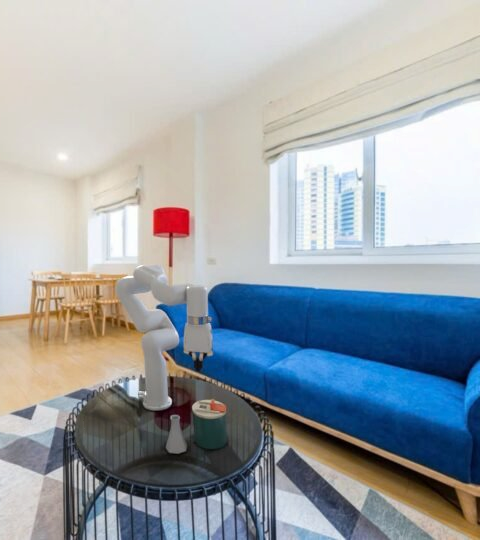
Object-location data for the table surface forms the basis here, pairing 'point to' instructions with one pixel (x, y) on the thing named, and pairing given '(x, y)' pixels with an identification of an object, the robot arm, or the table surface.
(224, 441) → the sliding lid canister
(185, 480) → the table surface
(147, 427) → the table surface
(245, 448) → the table surface
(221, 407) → the slider
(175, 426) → the flask
